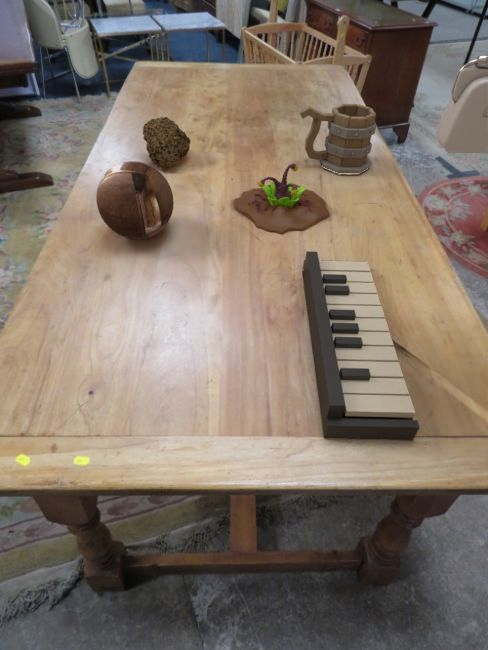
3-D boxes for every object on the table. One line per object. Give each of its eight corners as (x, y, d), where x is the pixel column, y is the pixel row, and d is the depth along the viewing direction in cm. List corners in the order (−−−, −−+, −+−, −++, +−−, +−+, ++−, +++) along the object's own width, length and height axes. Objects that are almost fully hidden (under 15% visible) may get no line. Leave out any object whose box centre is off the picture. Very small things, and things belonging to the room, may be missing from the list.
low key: (366, 266, 81) (367, 261, 80) (369, 275, 79) (370, 270, 78) (318, 265, 81) (318, 260, 80) (319, 274, 79) (320, 269, 78)
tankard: (361, 155, 122) (374, 97, 112) (372, 175, 114) (387, 115, 103) (291, 154, 122) (297, 96, 111) (296, 175, 113) (303, 114, 102)
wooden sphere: (104, 219, 96) (88, 152, 86) (171, 211, 99) (164, 145, 89) (106, 258, 86) (88, 187, 76) (181, 248, 89) (174, 179, 78)
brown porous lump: (156, 177, 113) (124, 128, 112) (188, 172, 123) (159, 127, 123) (181, 147, 105) (147, 95, 105) (212, 145, 116) (181, 97, 115)
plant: (344, 222, 97) (354, 174, 89) (272, 248, 90) (276, 198, 82) (290, 185, 109) (295, 140, 101) (223, 205, 101) (222, 158, 94)
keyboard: (364, 274, 84) (371, 248, 80) (412, 440, 58) (426, 415, 54) (302, 273, 84) (305, 247, 80) (323, 438, 58) (330, 413, 54)
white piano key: (407, 400, 59) (410, 395, 58) (412, 417, 57) (415, 412, 57) (341, 399, 59) (343, 394, 58) (344, 416, 57) (346, 411, 57)
